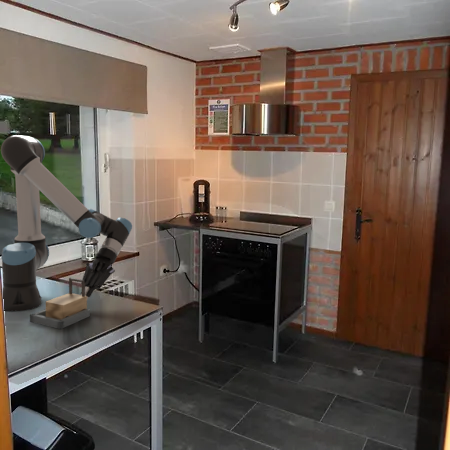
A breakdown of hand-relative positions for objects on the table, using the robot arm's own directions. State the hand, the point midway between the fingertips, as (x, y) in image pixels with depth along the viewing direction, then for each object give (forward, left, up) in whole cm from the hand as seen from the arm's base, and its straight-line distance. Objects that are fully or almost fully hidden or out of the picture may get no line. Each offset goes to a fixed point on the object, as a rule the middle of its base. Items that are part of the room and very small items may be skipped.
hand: (80, 303), depth 171 cm
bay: (-1, -9, -3) cm, 10 cm away
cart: (0, -7, -3) cm, 8 cm away
